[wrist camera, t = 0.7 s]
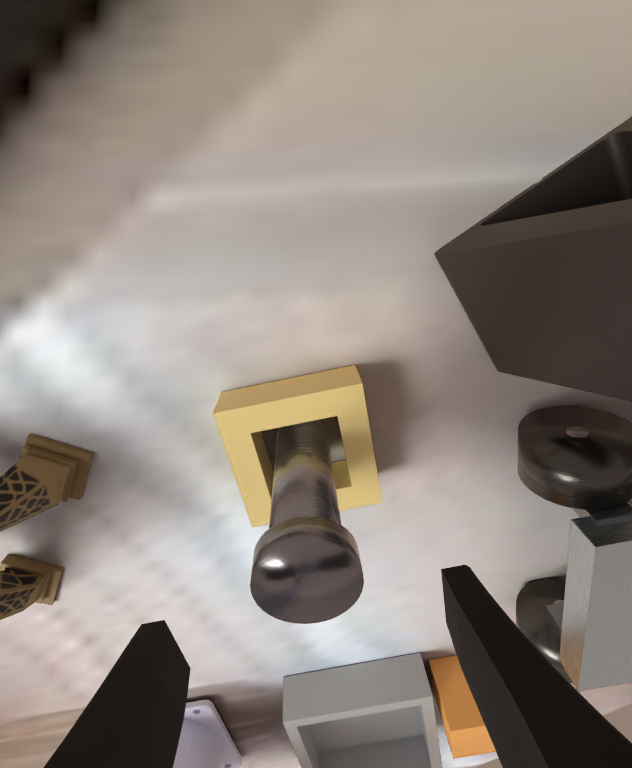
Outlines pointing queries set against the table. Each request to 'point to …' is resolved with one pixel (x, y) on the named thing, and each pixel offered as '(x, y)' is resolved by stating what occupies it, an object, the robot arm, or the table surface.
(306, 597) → the pin
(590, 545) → the toy wheeled cart
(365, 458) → the socket block
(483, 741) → the block
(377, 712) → the tray
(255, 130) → the table surface
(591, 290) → the phone stand
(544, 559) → the table surface
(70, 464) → the eiffel tower
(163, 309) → the table surface
